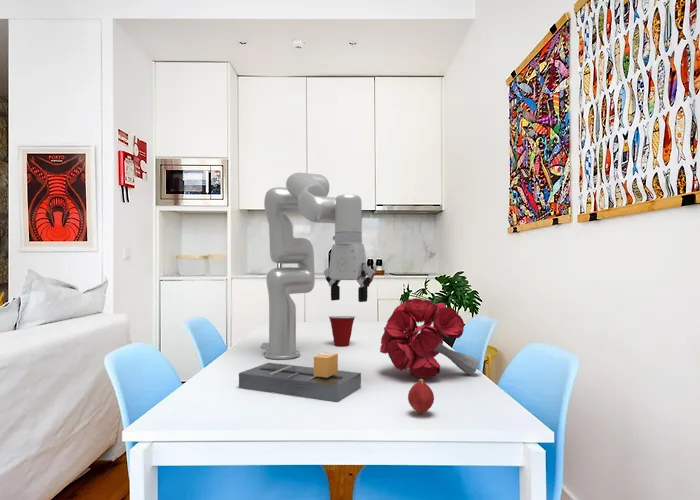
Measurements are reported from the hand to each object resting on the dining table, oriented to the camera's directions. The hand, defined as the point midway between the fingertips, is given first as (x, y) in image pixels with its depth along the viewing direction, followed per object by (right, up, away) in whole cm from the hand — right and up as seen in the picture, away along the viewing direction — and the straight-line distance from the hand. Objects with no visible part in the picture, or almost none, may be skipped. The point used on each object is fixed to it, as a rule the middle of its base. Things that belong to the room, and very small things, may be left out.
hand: (348, 300), depth 133 cm
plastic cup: (-3, -24, +59) cm, 64 cm away
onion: (+16, -23, -25) cm, 38 cm away
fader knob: (-6, -19, -6) cm, 21 cm away
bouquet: (+24, -24, +10) cm, 35 cm away
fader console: (-13, -23, -3) cm, 27 cm away
